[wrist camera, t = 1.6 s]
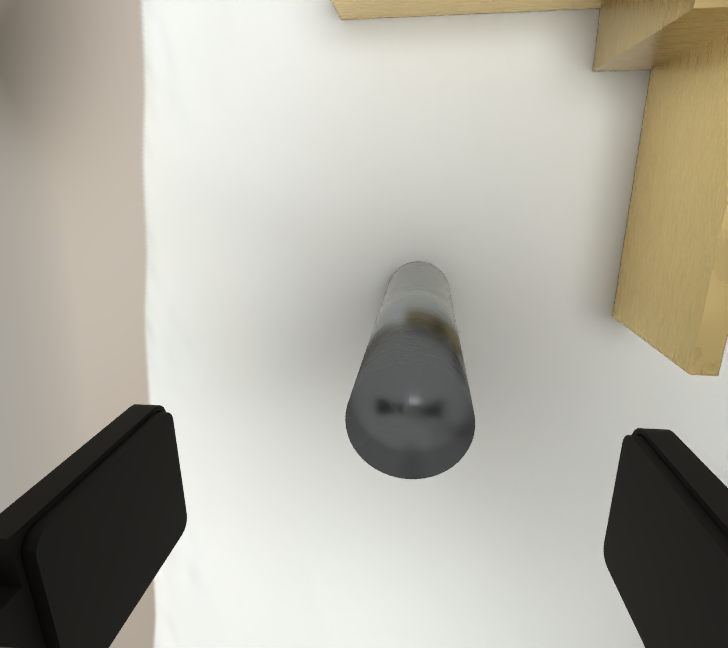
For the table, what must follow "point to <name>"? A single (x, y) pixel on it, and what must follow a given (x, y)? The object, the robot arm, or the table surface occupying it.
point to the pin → (412, 381)
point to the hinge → (655, 161)
